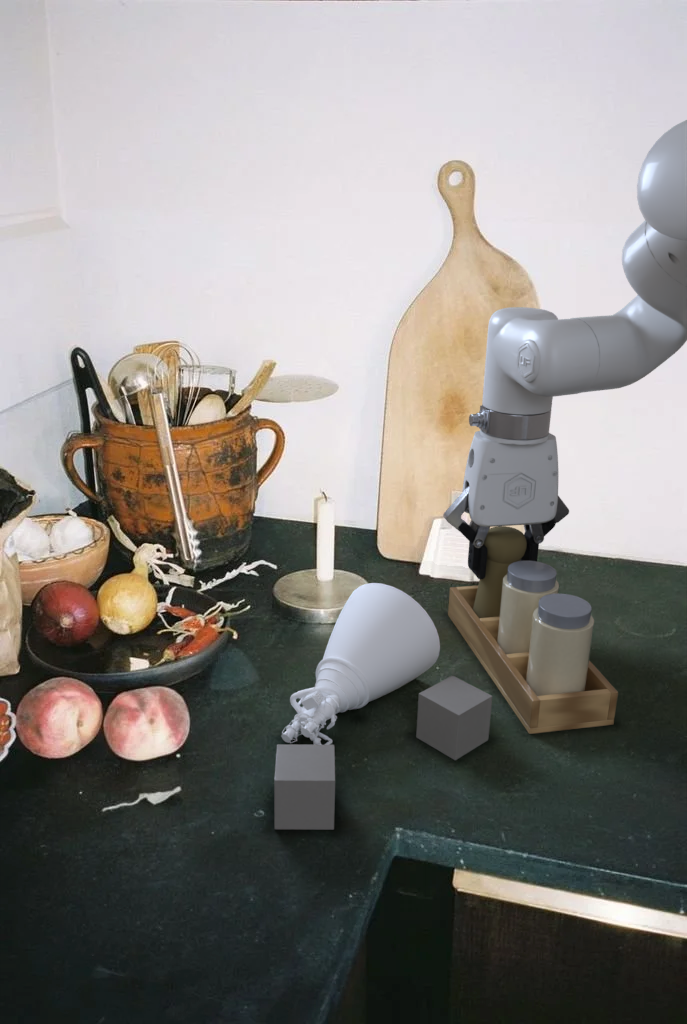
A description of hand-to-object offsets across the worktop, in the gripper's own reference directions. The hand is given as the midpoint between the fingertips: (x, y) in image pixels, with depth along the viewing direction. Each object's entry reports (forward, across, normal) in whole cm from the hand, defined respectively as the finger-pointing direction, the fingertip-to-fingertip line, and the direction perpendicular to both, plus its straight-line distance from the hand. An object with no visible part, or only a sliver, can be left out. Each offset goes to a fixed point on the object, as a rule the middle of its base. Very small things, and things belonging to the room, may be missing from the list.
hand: (501, 571), depth 110 cm
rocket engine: (+8, -22, -12) cm, 26 cm away
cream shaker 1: (+7, 0, -8) cm, 11 cm away
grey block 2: (+8, -12, -20) cm, 25 cm away
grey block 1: (+8, -28, -28) cm, 41 cm away
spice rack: (+8, 0, -8) cm, 11 cm away
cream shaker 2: (+7, 0, -16) cm, 18 cm away
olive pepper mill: (+6, 0, 0) cm, 6 cm away
